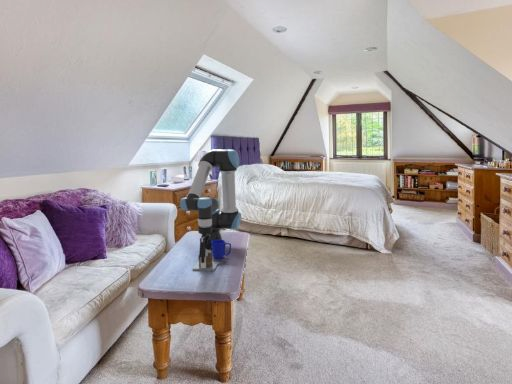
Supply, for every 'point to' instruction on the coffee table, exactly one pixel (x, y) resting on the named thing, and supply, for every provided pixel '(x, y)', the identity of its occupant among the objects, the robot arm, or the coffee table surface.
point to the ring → (207, 260)
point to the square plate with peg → (212, 268)
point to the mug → (219, 248)
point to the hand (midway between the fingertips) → (206, 264)
